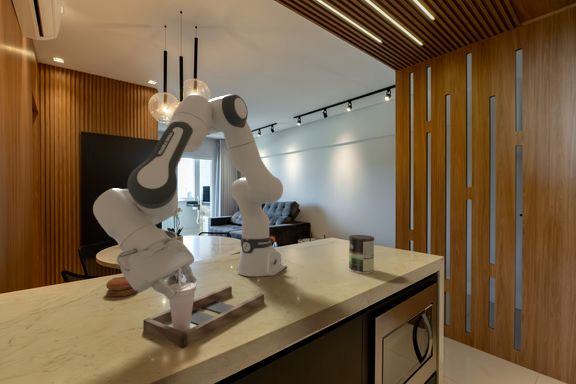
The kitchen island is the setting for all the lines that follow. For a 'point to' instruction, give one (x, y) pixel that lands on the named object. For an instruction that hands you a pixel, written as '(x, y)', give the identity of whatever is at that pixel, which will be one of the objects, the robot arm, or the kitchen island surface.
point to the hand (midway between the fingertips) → (184, 289)
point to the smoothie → (182, 304)
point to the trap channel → (200, 318)
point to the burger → (119, 287)
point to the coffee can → (361, 253)
